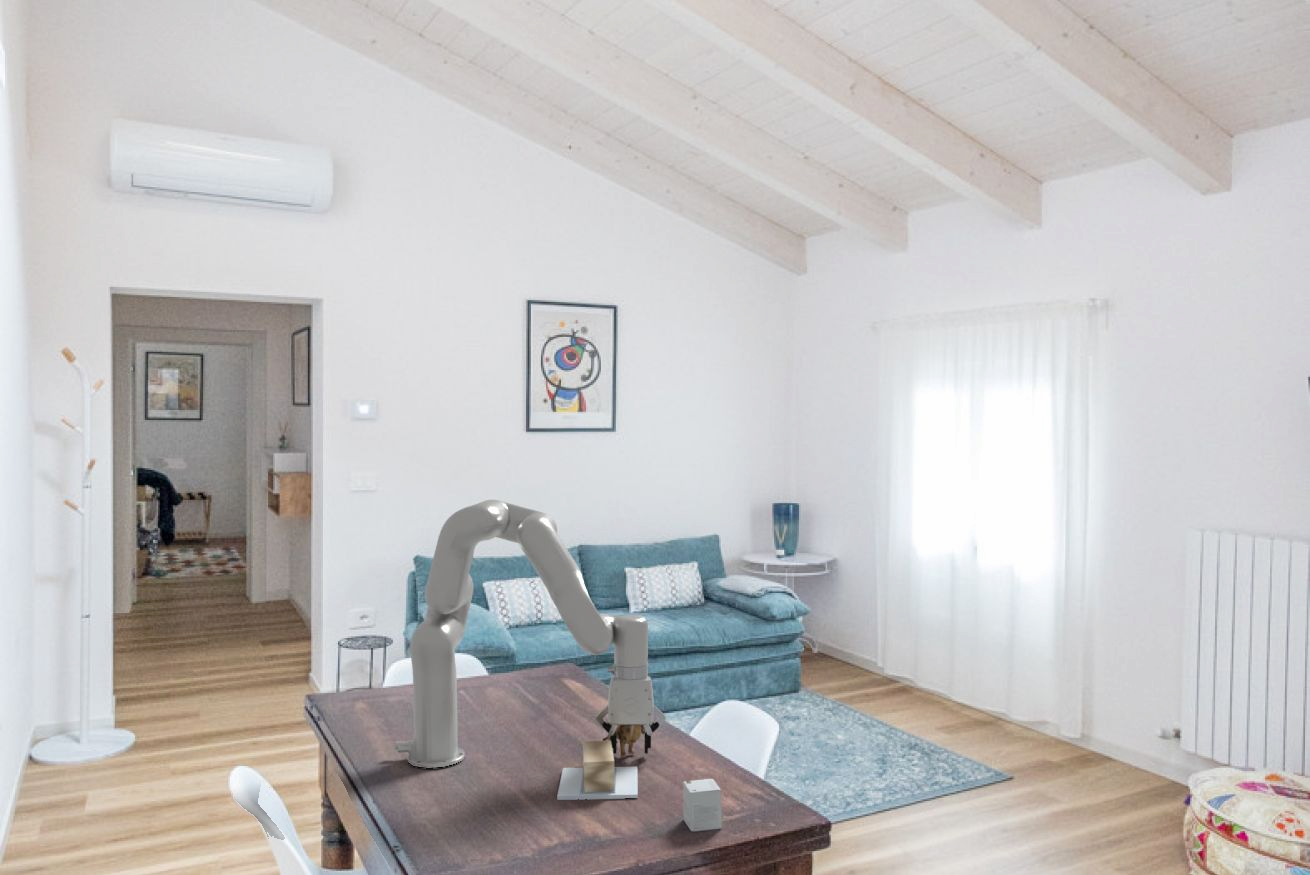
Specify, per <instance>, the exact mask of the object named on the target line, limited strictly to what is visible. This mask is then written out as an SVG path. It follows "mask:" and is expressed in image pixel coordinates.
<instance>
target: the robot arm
mask: <svg viewBox="0 0 1310 875" xmlns="http://www.w3.org/2000/svg"><path fill="white" fill-rule="evenodd" d="M495 538H499V539H500V540H501V539H502V540H505V541H509V542H513V543H517V544H518V545H519V547H520V548H521V550H522V552H523V554H524V555H525V556H526V558H527V559H528V561H529V563H530V564H531V565H532V568H533V569H534V571H535V572H536V573H537V575H538V577H539V578H540V580H541V582H542V583H543V585H544V587H545V589H546V590H547V592H548V594H549V596H550V599H551V601H552V602H553V604H554V606H555V607H556V609H557V612H558V613H559V615H560V617H561V619H562V621H563V622H564V624H565V626H566V628H567V629H568V631H569V633H570V634H571V635H572V637H573V638H574V640H575V642H576V643H577V644H578V646H579V648H580V649H581V650H583V652H585V653H586V654H589V655H590V656H591V655H593V656H599V655H602V654H604V653H606V652H607V651H608V650H609V649H610V647H611V646H613V648H614V649H613V650H614V653H613V654H614V656H613V662H614V663H613V664H612V665H611V666H607V673H611V674H612V676H611V678H610V681H609V688H608V699H607V700H608V702H607V704H606V706H605V707H603V709H601V710H600V711H599V712H598V713H597V714H596V715H595V720H596V722H598V724H600V726H601V727H602V728H603V729H604V730H605V731H606V732H607V734H608V733H609V735H610V740H611V744H612V750H613V754H617V749H618V747H617V746H618V745H617V744H618V743H617V741H618V739H617V733H616V729H617V726H618V725H643V726H644V728H645V730H646V731H645V734H644V753H645V754H649V749H652V735H653V734H654V732H655V731H656V730H658V728H659V727H660V726H661V725H662V724H663V723H664V722H665V721H666V718H667V717H666V714H664V712H662V711H661V710H660V709H659V708H658V707H657V706H656V705H655V704H654V690H653V682H652V681H653V680H652V678H651V676H649V675H648V673H649V671H648V668H649V663H648V662H649V656H648V655H649V622H648V620H647V619H646V617H645V616H642V615H638V614H624V615H617V614H615V615H614V614H608V613H604V612H603V613H601V612H599V611H598V610H597V608H596V606H595V605H594V603H593V601H592V599H591V597H590V595H589V593H588V590H587V588H586V584H585V581H584V577H583V574H582V571H581V569H580V567H579V565H578V564H577V561H576V560H575V559H574V558H573V556H572V555H571V553H570V551H569V550H568V548H567V546H566V545H565V543H564V542H563V540H562V539H561V537H560V535H559V534H558V525H557V523H556V521H555V520H554V518H553V517H551V515H549V514H548V513H545V512H542V511H539V510H535V509H530V508H527V507H524V506H520V505H516V504H513V503H509V502H505V501H502V500H497V499H487V500H484V501H481V502H478V503H475V504H473V505H469V506H466V507H464V508H460V509H459V510H457V511H455V512H454V513H453V514H451V515H450V516H449V517H448V518H447V519H446V520H445V522H444V524H443V526H442V527H441V529H440V532H439V535H438V539H437V541H436V546H435V550H434V553H433V558H432V562H431V566H430V570H429V574H428V578H427V582H426V585H425V588H424V589H425V590H424V600H425V604H426V605H427V611H426V616H425V619H424V620H423V621H421V622H420V623H419V624H418V626H417V627H416V628H415V629H414V631H413V633H412V635H411V639H410V644H409V649H410V650H409V651H410V659H411V660H410V661H411V668H412V685H413V686H412V692H413V693H412V694H413V695H412V696H413V699H412V700H413V739H410V740H409V741H405V740H401V741H400V740H399V741H398V740H396V741H395V743H394V750H395V751H397V753H399V754H400V753H401V754H402V753H408V755H407V757H406V761H407V760H408V762H409V763H411V764H413V765H417V766H421V767H443V768H446V767H445V766H448V767H450V766H449V765H452V766H454V765H453V764H455V765H457V764H459V763H460V761H461V762H462V761H463V760H465V758H464V757H466V752H465V750H464V749H462V748H460V747H459V745H458V743H459V742H458V687H457V686H458V683H457V667H456V665H457V664H456V654H455V653H456V652H455V650H456V648H457V647H458V646H459V645H460V643H461V642H462V640H463V638H464V635H465V632H466V631H465V630H466V628H467V627H466V625H467V621H468V616H469V614H470V613H469V612H470V608H471V604H472V599H473V596H474V595H473V594H474V581H473V579H472V576H471V574H470V571H471V567H472V564H473V559H474V552H475V548H476V546H477V545H478V544H479V543H480V542H484V541H490V540H491V539H495ZM606 716H607V720H608V721H607V720H606V719H605V717H606ZM654 716H656V717H657V718H656V720H654ZM609 722H610V723H611V725H610V724H609ZM408 762H407V763H408ZM458 762H459V763H458ZM456 763H457V764H456Z"/></svg>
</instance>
